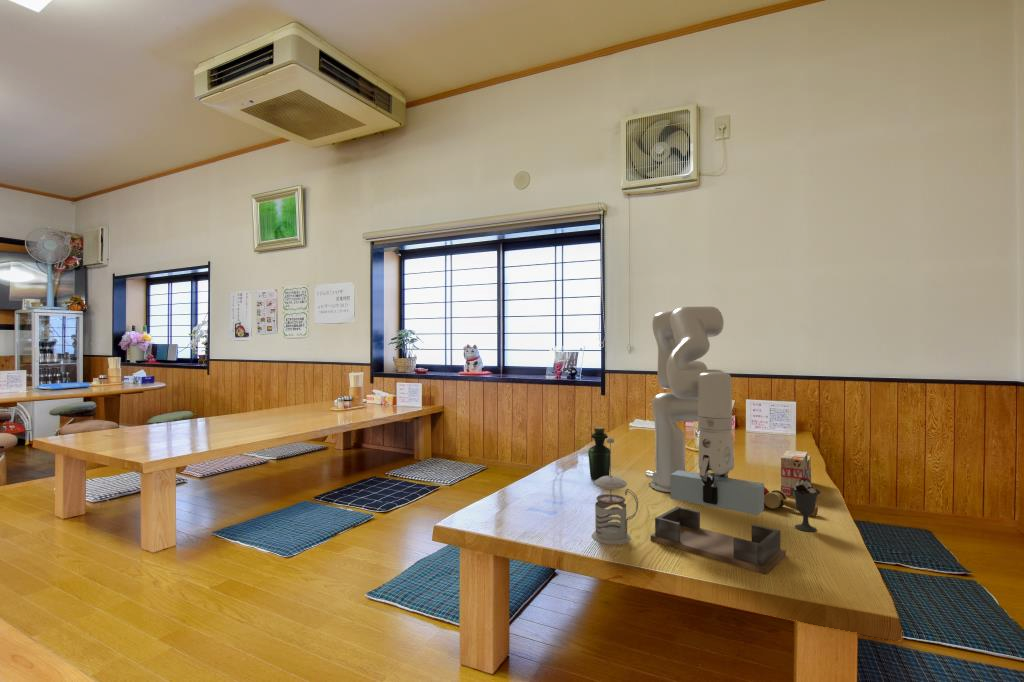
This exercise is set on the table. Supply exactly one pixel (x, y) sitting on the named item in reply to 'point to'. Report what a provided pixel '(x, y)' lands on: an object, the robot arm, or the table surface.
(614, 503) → the french press
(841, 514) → the table surface
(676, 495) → the grey rectangular block
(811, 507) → the sundae
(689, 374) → the robot arm
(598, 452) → the potion bottle
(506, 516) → the table surface
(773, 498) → the kendama
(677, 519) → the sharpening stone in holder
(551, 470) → the table surface
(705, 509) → the table surface
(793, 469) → the stack of blocks
